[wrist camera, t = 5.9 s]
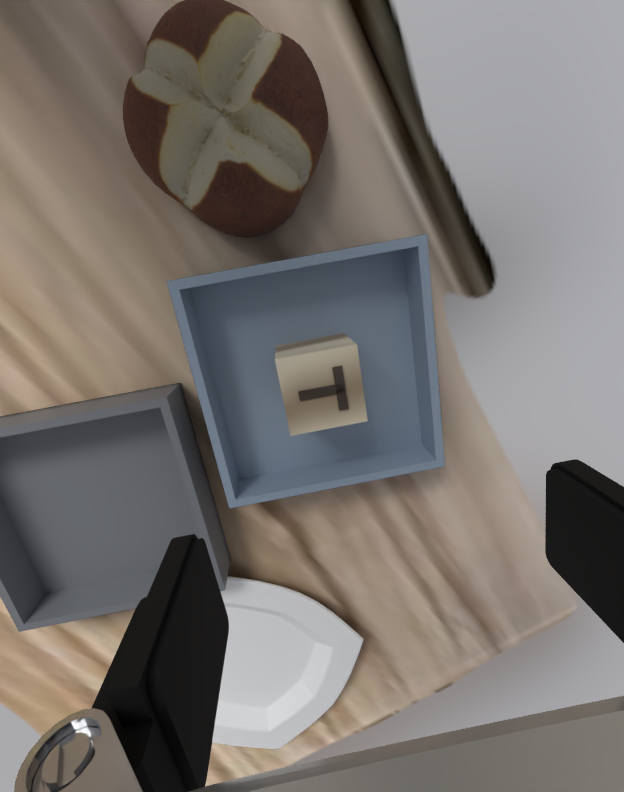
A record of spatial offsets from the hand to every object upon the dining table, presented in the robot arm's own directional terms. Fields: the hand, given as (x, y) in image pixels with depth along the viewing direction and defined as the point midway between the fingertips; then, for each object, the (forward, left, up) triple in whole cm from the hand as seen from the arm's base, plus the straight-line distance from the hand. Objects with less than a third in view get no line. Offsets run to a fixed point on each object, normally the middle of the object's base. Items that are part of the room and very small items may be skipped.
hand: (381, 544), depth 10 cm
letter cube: (0, 0, -19) cm, 19 cm away
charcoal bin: (+7, -18, -20) cm, 28 cm away
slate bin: (0, 0, -20) cm, 20 cm away
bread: (-16, -2, -20) cm, 26 cm away
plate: (+26, -11, -20) cm, 35 cm away
